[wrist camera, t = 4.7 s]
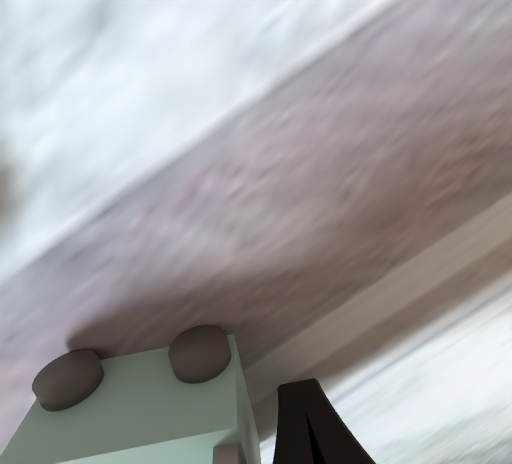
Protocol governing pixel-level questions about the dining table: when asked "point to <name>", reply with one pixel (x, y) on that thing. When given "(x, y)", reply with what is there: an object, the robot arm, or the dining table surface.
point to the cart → (142, 407)
